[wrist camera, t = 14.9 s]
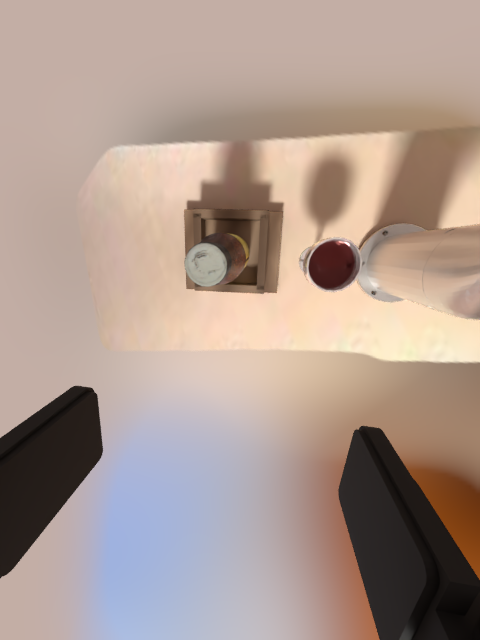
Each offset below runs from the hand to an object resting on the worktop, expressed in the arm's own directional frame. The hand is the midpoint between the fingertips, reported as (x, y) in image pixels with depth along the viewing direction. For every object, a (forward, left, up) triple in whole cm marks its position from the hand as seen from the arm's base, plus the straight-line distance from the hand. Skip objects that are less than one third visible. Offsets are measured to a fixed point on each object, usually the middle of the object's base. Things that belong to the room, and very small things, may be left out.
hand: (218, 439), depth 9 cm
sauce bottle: (+4, -6, -35) cm, 36 cm away
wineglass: (-10, -5, -37) cm, 38 cm away
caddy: (+4, -6, -36) cm, 37 cm away
